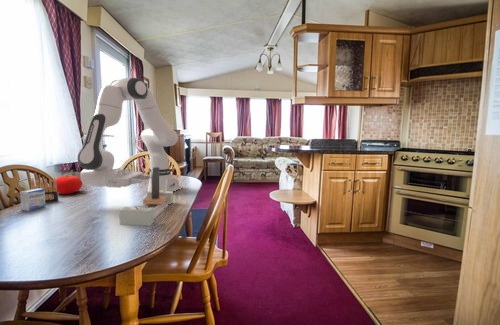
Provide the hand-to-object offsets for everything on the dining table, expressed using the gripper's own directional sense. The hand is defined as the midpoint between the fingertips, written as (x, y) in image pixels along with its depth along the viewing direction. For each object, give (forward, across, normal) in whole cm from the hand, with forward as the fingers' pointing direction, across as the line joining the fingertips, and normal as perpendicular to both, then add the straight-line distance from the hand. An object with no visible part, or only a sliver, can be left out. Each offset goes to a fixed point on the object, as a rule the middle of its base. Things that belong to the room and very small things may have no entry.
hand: (145, 179), depth 128 cm
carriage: (+5, 0, +11) cm, 12 cm away
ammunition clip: (-52, +4, +14) cm, 54 cm away
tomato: (-53, +23, +14) cm, 59 cm away
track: (+5, -8, +14) cm, 17 cm away
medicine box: (-49, -7, +14) cm, 52 cm away
